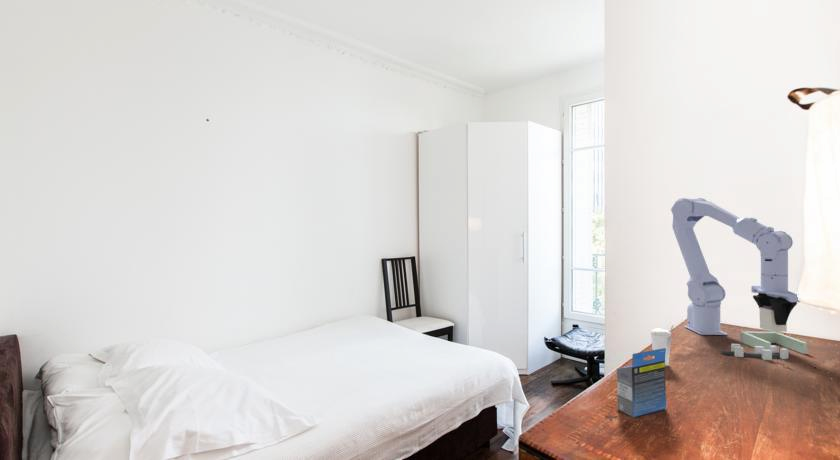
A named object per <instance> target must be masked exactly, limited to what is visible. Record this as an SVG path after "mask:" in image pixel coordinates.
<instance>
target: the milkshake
mask: <svg viewBox="0 0 840 460" xmlns="http://www.w3.org/2000/svg"><path fill="white" fill-rule="evenodd" d="M673 328H674V325H671V327H670V329H669V330H668V329H667V330H666V329H663V328H660V327H658V328H657V327H656V328H653V329H652V330H651V331H650V338H651V339H650V340H651V346H652V348H651V351H652V350H657V349H663V348H666V353H665V367H668V366H669V365H670V353H671V344H672V343H671V342H672V333H671V332H672V330H673ZM652 359H654V356H652Z"/></svg>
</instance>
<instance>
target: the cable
mask: <svg viewBox="0 0 840 460" xmlns="http://www.w3.org/2000/svg"><path fill="white" fill-rule="evenodd" d="M719 353H720V354H721V355H727V356H728V355H730V356H734V351H731V350H725V349H720V352H719ZM788 356H790V352H789V351H788ZM744 357H749V358H757V359H762V354H756V353H755V352H747V351H746V352H745V351H744ZM774 358H775V359H777V358H780V351H779V352H777V353H772V359H774Z"/></svg>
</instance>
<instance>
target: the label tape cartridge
mask: <svg viewBox="0 0 840 460" xmlns="http://www.w3.org/2000/svg"><path fill="white" fill-rule="evenodd" d="M665 353H666V348H663V349H657V350H652V349H651V350H647V351H642V352H635V353H632V356H631V357H632V361H631V362H632V365H629V366H624V367H619V368H617V369H616V374H617V375H616V379H617V381H616V383H617V384H616V385H617V386H616V387H617V389H616V390H617V395H616V398H617V410H618V411H620V413H623V414H625V415H626V416H628V417H631V418H636V417H640V416H645V415H647V414H652V413H655V412H659V411H663V410H666V409H667V386H666V385H667V384H666V383H667V382H666V366H665ZM649 356H650V357H653V356H654V359H653V358H651V359H646V360H644V359H645V358H648V357H649Z"/></svg>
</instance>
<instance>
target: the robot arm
mask: <svg viewBox="0 0 840 460" xmlns="http://www.w3.org/2000/svg"><path fill="white" fill-rule="evenodd" d="M670 210H671V213H672V224H671V225H672V230H673V233H674V235H675V239H676V241H677V243H678V246H679V250H680V252H681V254H682V258H683V260H684V263H685V267H686V269H687V271H688V275H689V278H688V281H687V283H686V286H687V296H688V298H689V301H691V303H689V305H688V306H687V314H686V317H687V319H686V320H687V322H686V323H687V325H684V327H685V328H686V329H688V330H690V331H692V332H695V333H697V334H699V335H702V336H704V335H705V336H706V335H707V336H710V335H711V336H712V335H713V336H714V335H715V336H727V335H728V333H727V332H724V331H723V330H721V304H722V301H724V299H725V298H726V290H725V288H724V287H723V286H722V285H721V284H720V282H719V280H718V279H717V277H715V276H714V275H713V274H711V272H710V269H709V267H708V264H707V262H706V260H705V257H704V254H703V251H702V249H701V247H700V243H699V241H698V238H697V236H696V233H695V231H694V227H695V226H696V224H697V223H698V222H699V221H701V220H702V219H703V218H704V217H709V218H711V219H714V220H716V221H718V222H719V223H721V224H724V225H726V226H729V227H730V228H732V230H733V231H732V232H733V233H734V235H737V236H738V237H740V238H742V239H744V240H746V241H748V242H750V243H752V244H754V245H755V247H756V248H757V250H758V251H759V253H760V285H751V293H753V294H755V295H752V298H753V299H754V302H756V304H757V306H758V308H759V307H763V306H767V305H772V307H773V310H774V318H775V323H776V325H786V323H787V322H788V319H789V317H790V314H791V312H792V311H793V309H794V308H795V307H796V306H797V304H798V303H801V300H800V301H799V300H798V297H797V294H798V293H795V292H792V291H789V250H790V249H791V248H792V247H793V243H794V242H793V239H792V236H790V235H789V234H788V233H787V232H786V231H783V230H778V231H775V228H774V227H772V226H767V225H765V224H762V223H760V222H758V218H755V217H742V218H740V217H738V216H737V215H735V214H734V213H731V212H730V211H728V210H726V209H725V208H722V207H721V206H719V205H717V204H715V203H714V202H712V201H710V200H707V199H705V198H702V197H701V198H686V197H683V198H678V199H677V200H676V201H675V202H674V204H673V205H672V207H671V208H670ZM759 310H760V308H759Z"/></svg>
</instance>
